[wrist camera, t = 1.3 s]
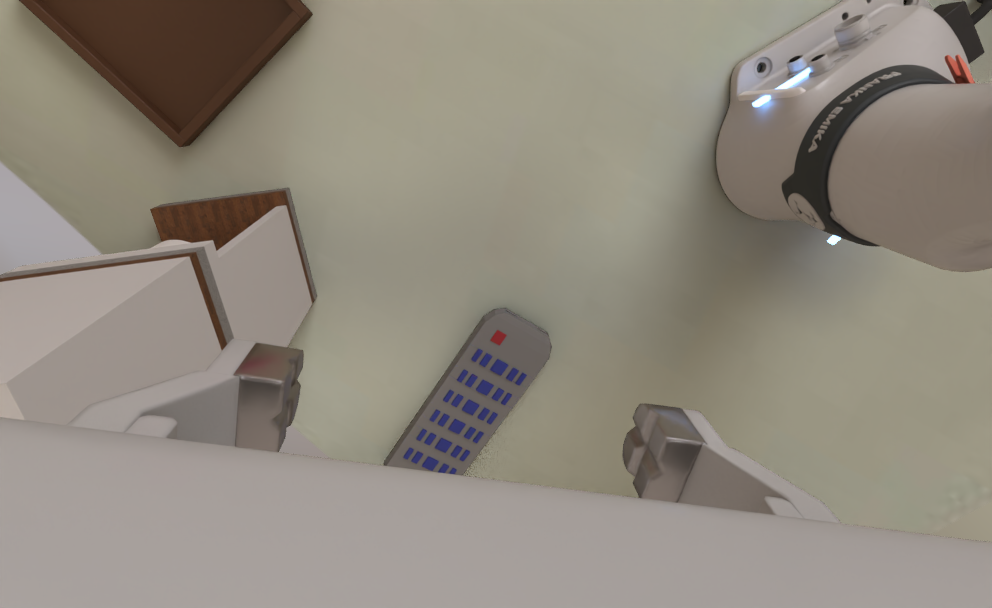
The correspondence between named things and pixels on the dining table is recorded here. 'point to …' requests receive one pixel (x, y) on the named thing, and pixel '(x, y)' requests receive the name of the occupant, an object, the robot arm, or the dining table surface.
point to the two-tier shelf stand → (152, 305)
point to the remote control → (473, 395)
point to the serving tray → (175, 50)
